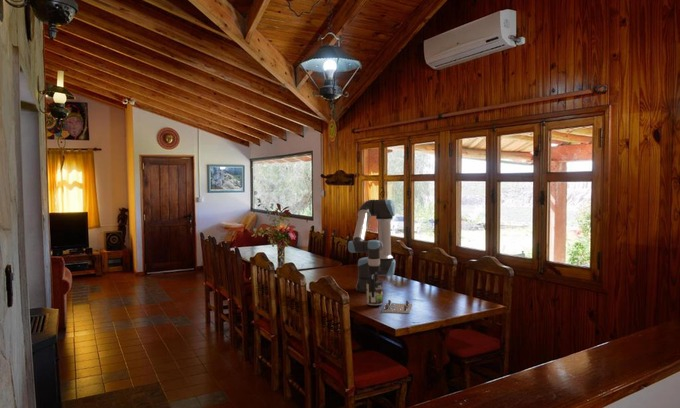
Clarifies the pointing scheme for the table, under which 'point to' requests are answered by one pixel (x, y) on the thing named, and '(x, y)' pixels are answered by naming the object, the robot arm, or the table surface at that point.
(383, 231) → the robot arm
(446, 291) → the table surface
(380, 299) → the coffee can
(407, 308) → the pin plate
